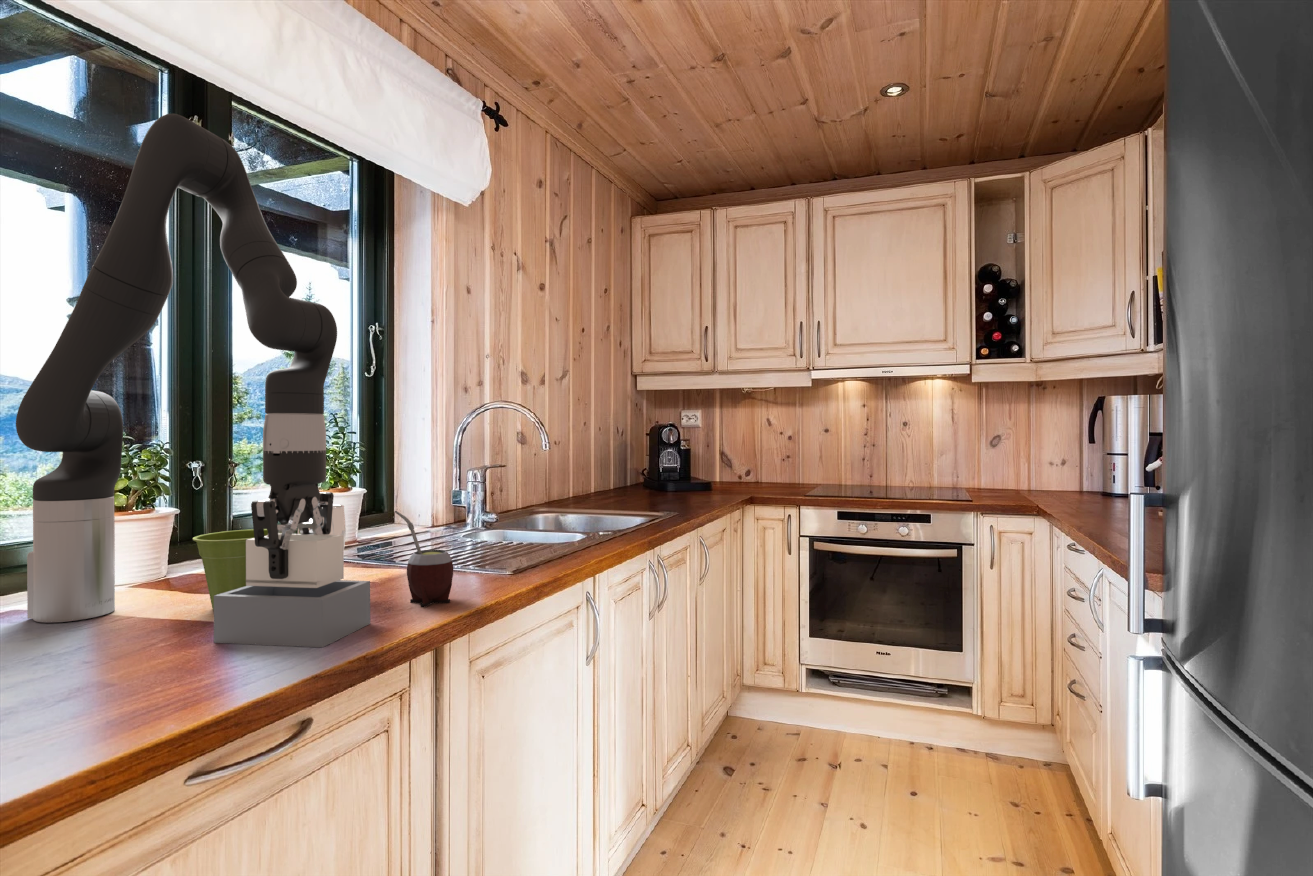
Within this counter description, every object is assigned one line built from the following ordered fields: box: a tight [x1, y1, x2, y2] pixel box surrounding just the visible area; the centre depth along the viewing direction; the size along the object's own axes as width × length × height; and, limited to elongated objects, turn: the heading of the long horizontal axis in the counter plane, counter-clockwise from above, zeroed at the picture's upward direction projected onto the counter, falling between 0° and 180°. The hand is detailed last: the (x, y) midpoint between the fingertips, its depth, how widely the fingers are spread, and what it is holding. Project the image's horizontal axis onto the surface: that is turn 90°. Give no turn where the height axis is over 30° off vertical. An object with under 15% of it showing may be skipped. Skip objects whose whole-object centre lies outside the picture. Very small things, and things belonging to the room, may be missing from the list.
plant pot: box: [192, 528, 268, 611], centre depth 108 cm, size 12×12×11 cm
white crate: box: [246, 533, 345, 588], centre depth 94 cm, size 6×10×6 cm, turn 82°
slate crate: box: [213, 579, 371, 648], centre depth 94 cm, size 11×15×6 cm
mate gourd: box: [394, 510, 454, 608], centre depth 110 cm, size 8×8×15 cm
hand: (295, 572), depth 94 cm, fingers closed on white crate, 6 cm apart
